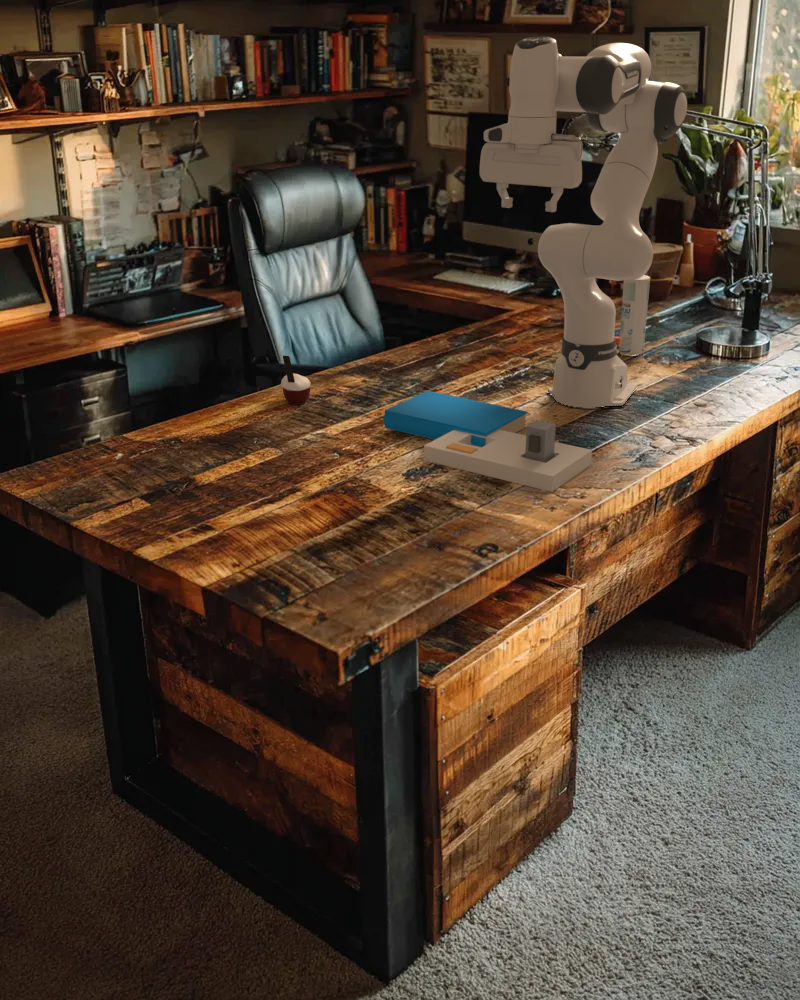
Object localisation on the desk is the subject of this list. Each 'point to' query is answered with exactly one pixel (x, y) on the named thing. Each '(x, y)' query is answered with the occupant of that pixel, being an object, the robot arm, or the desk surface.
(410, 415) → the book
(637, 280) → the spray can
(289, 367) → the cocoa
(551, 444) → the plug
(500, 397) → the desk surface
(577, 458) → the socket board
